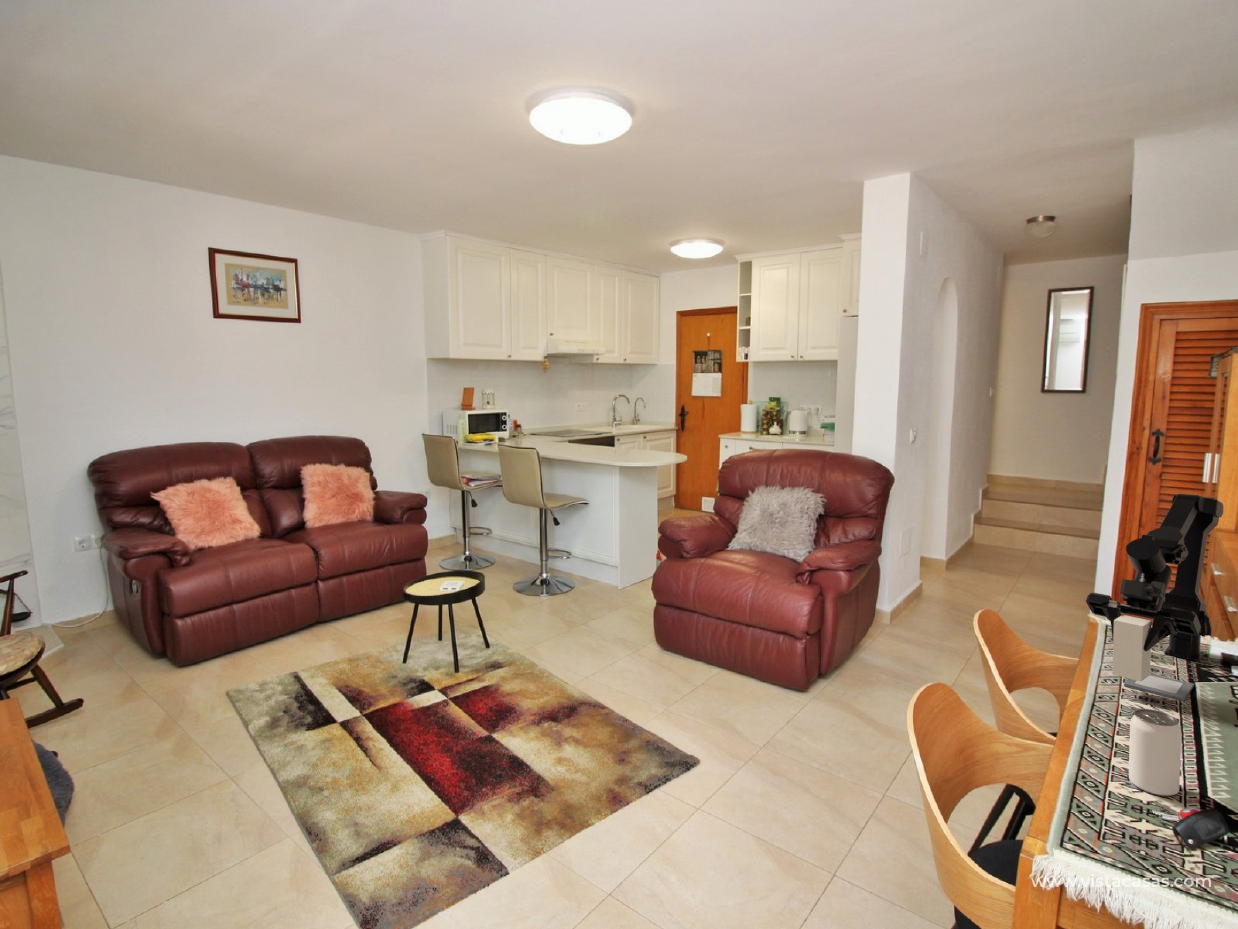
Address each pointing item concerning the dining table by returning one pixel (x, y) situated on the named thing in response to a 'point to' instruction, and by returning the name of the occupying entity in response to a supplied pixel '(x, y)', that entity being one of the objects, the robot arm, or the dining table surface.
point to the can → (1155, 752)
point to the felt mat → (1162, 686)
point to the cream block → (1131, 648)
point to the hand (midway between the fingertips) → (1129, 646)
